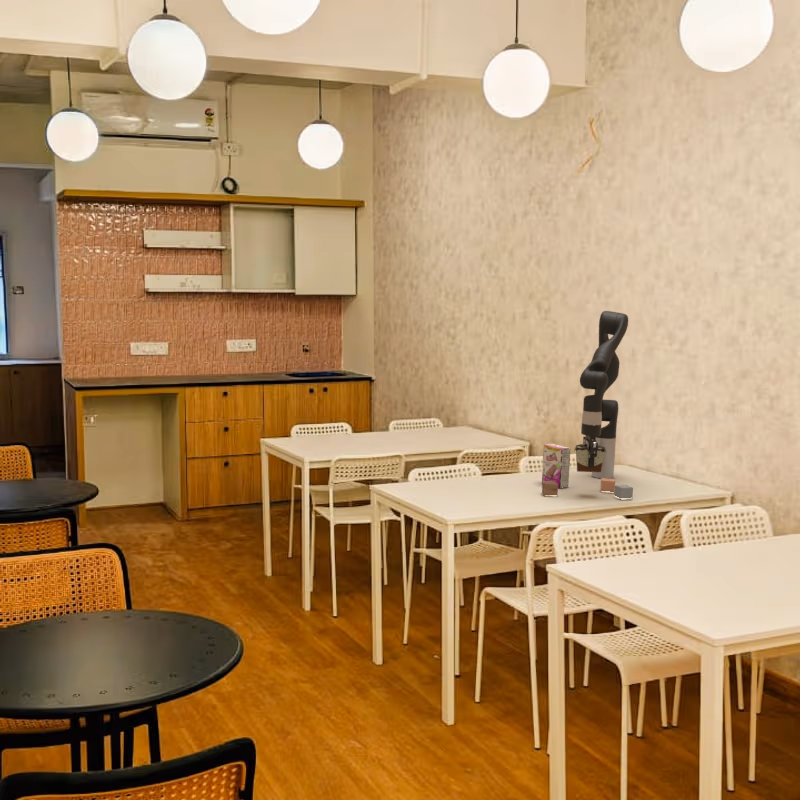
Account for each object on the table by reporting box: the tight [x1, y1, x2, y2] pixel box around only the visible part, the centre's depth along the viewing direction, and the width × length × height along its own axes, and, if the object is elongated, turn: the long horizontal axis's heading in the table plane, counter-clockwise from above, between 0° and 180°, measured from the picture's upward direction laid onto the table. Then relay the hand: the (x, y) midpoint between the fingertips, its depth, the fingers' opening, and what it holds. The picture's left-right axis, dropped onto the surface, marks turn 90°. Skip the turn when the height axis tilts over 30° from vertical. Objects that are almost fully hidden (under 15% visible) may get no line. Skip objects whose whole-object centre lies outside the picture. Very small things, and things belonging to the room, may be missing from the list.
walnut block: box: [541, 481, 559, 496], centre depth 392 cm, size 5×5×5 cm
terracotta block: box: [600, 478, 616, 493], centre depth 401 cm, size 5×5×5 cm
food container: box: [573, 443, 606, 473], centre depth 392 cm, size 12×6×10 cm, turn 85°
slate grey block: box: [613, 484, 634, 498], centre depth 389 cm, size 5×5×5 cm
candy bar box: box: [541, 443, 571, 489], centre depth 409 cm, size 11×5×16 cm, turn 34°
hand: (589, 465), depth 392 cm, fingers closed on food container, 5 cm apart
